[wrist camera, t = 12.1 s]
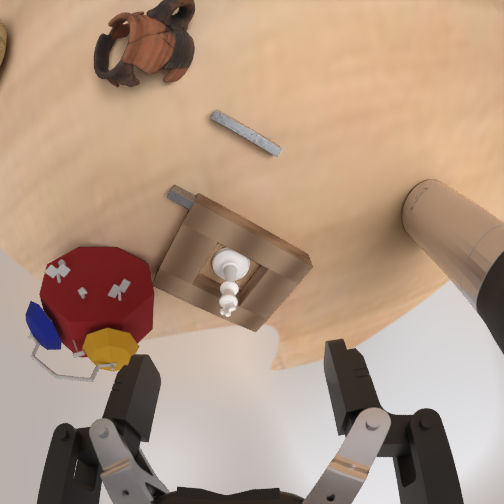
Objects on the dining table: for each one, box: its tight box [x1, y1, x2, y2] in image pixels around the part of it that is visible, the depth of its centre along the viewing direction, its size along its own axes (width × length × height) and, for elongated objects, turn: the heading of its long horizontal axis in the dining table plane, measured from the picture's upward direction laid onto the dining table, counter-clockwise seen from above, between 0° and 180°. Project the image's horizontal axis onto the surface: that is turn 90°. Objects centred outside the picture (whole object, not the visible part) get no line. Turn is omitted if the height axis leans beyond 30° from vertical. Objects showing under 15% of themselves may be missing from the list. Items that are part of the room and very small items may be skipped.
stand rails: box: [167, 110, 282, 209], centre depth 30 cm, size 8×11×2 cm
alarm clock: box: [26, 247, 154, 382], centre depth 28 cm, size 15×9×20 cm, turn 75°
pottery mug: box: [94, 0, 195, 87], centre depth 21 cm, size 12×10×8 cm
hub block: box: [152, 194, 313, 332], centre depth 36 cm, size 16×13×3 cm
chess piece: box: [212, 247, 250, 317], centre depth 33 cm, size 5×5×10 cm
